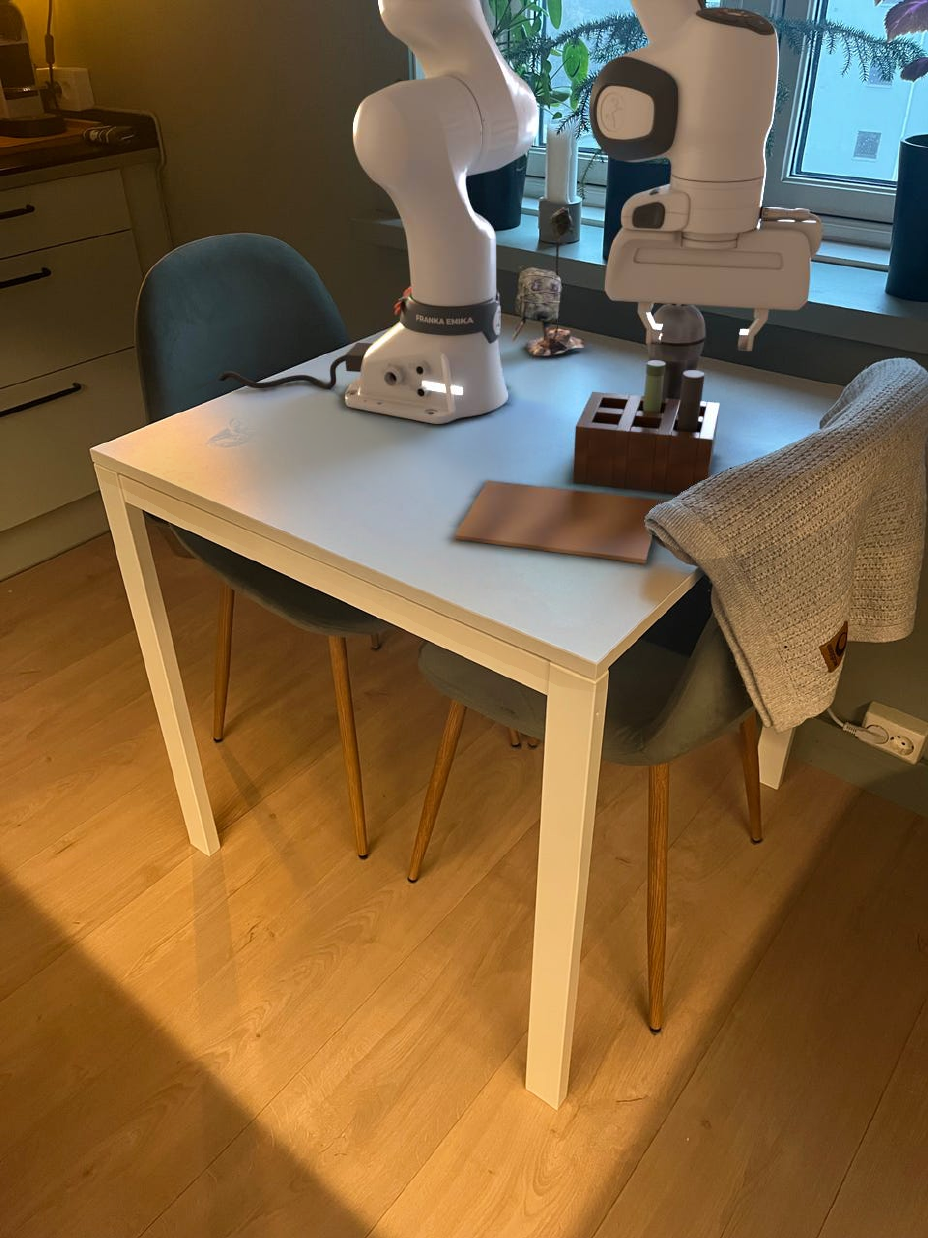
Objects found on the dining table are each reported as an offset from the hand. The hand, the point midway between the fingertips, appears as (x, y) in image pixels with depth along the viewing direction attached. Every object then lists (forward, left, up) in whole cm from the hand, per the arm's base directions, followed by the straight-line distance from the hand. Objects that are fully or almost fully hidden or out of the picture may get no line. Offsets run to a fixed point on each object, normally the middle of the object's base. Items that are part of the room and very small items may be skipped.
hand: (698, 345), depth 101 cm
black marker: (0, 0, -16) cm, 16 cm away
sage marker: (-5, +5, -16) cm, 17 cm away
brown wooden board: (-12, -12, -16) cm, 23 cm away
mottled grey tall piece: (-25, +40, -16) cm, 50 cm away
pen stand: (-5, +2, -16) cm, 17 cm away
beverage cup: (-4, +16, -16) cm, 23 cm away
